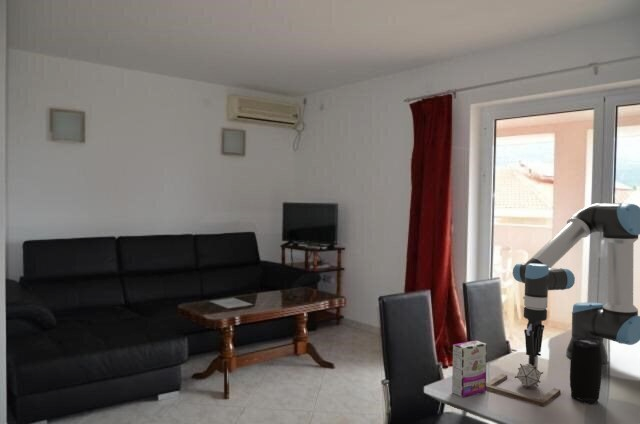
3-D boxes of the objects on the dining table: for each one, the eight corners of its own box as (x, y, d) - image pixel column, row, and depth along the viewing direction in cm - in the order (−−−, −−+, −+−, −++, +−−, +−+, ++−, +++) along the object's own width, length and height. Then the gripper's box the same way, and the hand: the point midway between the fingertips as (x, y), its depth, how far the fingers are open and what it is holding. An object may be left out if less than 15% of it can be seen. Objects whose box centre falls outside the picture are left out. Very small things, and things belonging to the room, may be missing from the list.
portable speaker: (604, 400, 157) (607, 341, 156) (591, 407, 151) (594, 345, 151) (577, 391, 164) (580, 334, 163) (563, 398, 158) (566, 338, 158)
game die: (535, 398, 166) (549, 381, 160) (511, 389, 167) (524, 371, 161) (532, 378, 173) (546, 361, 168) (509, 369, 174) (522, 351, 168)
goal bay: (501, 377, 176) (501, 373, 176) (560, 393, 162) (560, 389, 162) (482, 388, 164) (482, 384, 164) (543, 406, 151) (543, 403, 151)
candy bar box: (474, 387, 165) (476, 339, 165) (486, 392, 161) (488, 343, 161) (450, 392, 160) (452, 343, 160) (461, 398, 156) (463, 347, 155)
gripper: (531, 303, 178) (528, 366, 179) (517, 308, 169) (514, 375, 169) (552, 307, 173) (550, 372, 173) (539, 312, 163) (536, 381, 164)
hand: (532, 373), depth 171 cm, fingers closed
